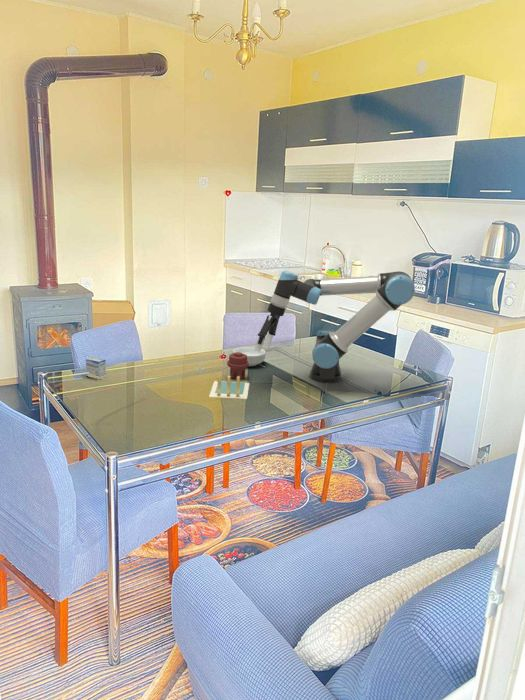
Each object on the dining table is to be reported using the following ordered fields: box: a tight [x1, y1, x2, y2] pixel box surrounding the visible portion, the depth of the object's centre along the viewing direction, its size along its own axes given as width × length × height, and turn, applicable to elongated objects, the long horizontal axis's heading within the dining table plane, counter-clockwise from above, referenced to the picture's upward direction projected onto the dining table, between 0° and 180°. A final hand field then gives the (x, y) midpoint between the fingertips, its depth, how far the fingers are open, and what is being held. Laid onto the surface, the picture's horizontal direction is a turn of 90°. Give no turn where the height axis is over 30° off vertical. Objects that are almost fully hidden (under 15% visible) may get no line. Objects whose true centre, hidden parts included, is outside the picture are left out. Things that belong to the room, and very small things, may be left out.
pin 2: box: [226, 374, 231, 397], centre depth 215 cm, size 1×1×9 cm
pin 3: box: [236, 376, 241, 397], centre depth 215 cm, size 1×1×9 cm
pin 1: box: [217, 374, 222, 396], centre depth 216 cm, size 1×1×9 cm
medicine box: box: [85, 356, 107, 377], centre depth 233 cm, size 8×4×9 cm, turn 68°
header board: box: [208, 380, 250, 400], centre depth 224 cm, size 16×19×1 cm
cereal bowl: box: [231, 346, 267, 367], centre depth 260 cm, size 17×17×7 cm
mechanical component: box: [226, 352, 249, 381], centre depth 239 cm, size 12×10×10 cm
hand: (261, 349), depth 231 cm, fingers open, 13 cm apart
